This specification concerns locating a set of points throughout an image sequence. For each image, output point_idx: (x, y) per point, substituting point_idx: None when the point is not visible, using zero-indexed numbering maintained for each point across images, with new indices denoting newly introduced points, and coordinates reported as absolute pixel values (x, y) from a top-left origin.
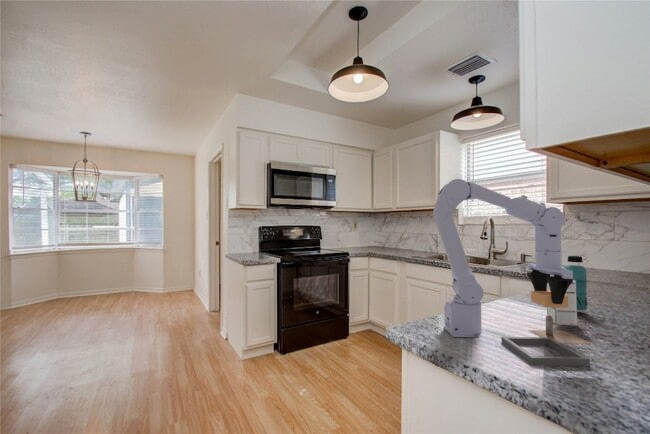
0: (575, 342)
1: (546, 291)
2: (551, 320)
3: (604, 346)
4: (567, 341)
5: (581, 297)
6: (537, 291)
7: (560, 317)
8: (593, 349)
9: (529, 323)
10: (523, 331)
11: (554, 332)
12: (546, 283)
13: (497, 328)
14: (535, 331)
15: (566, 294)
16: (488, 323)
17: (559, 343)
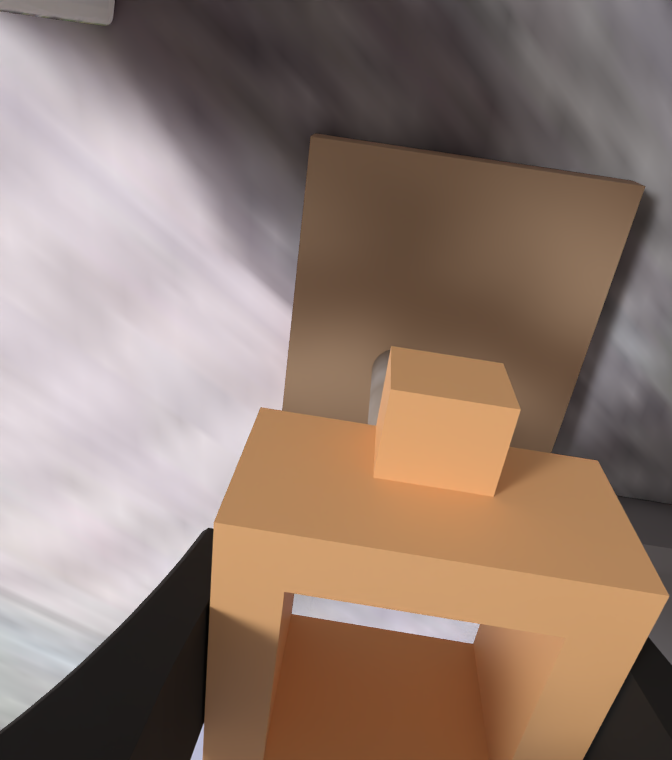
0: (585, 307)
1: (261, 642)
2: None
3: (649, 9)
4: (548, 350)
5: None
6: (257, 750)
7: None
8: (664, 199)
9: (14, 223)
10: (230, 425)
11: (346, 280)
12: (147, 750)
13: (170, 546)
14: (309, 414)
15: None
16: (64, 537)
17: (670, 555)
